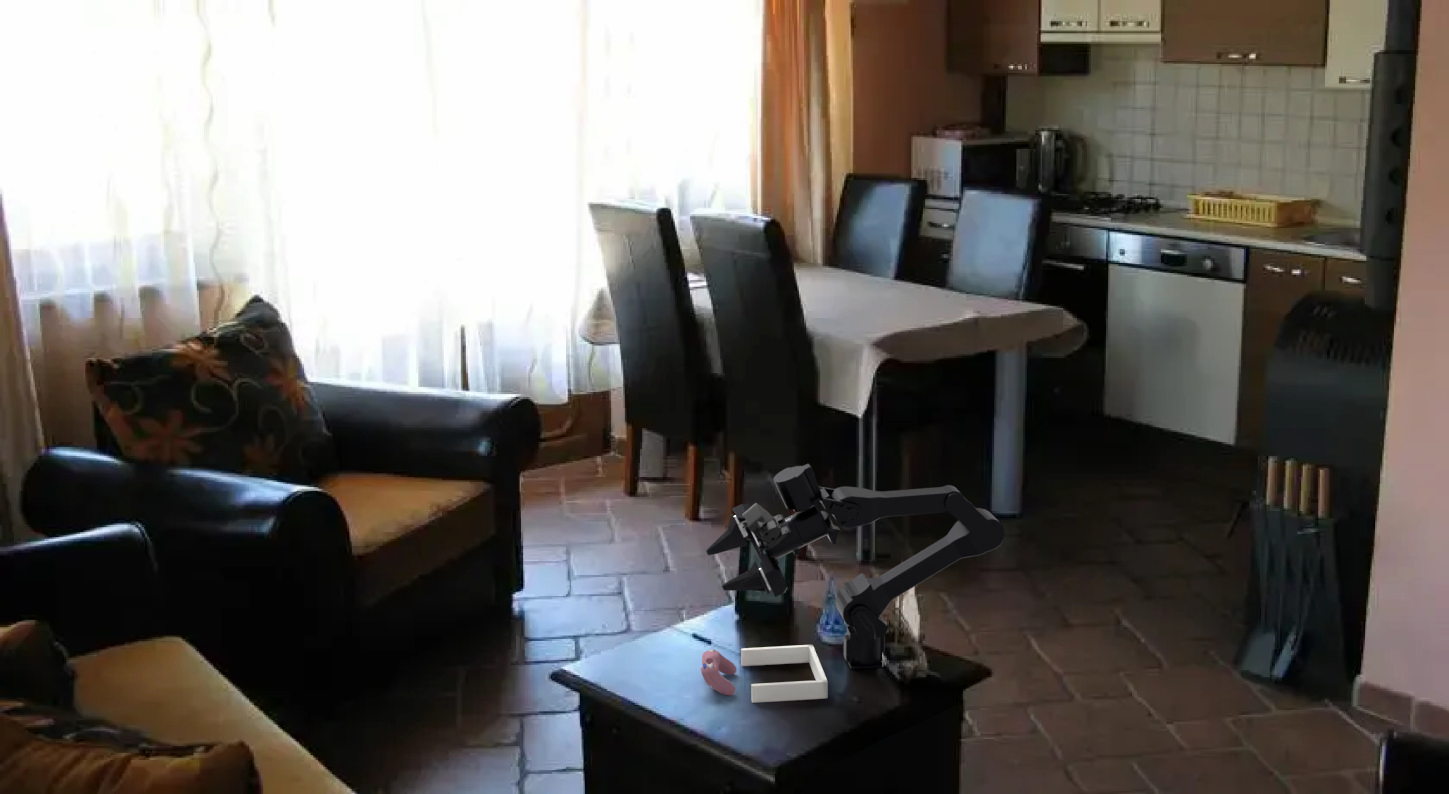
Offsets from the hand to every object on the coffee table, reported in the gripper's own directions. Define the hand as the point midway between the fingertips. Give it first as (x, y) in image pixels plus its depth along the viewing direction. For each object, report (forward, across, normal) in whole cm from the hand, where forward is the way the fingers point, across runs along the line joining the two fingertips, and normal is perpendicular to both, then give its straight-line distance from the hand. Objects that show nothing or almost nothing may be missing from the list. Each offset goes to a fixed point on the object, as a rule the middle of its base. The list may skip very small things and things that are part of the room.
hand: (714, 570), depth 258 cm
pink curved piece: (+8, +12, +14) cm, 20 cm away
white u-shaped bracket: (-2, +14, +18) cm, 22 cm away
